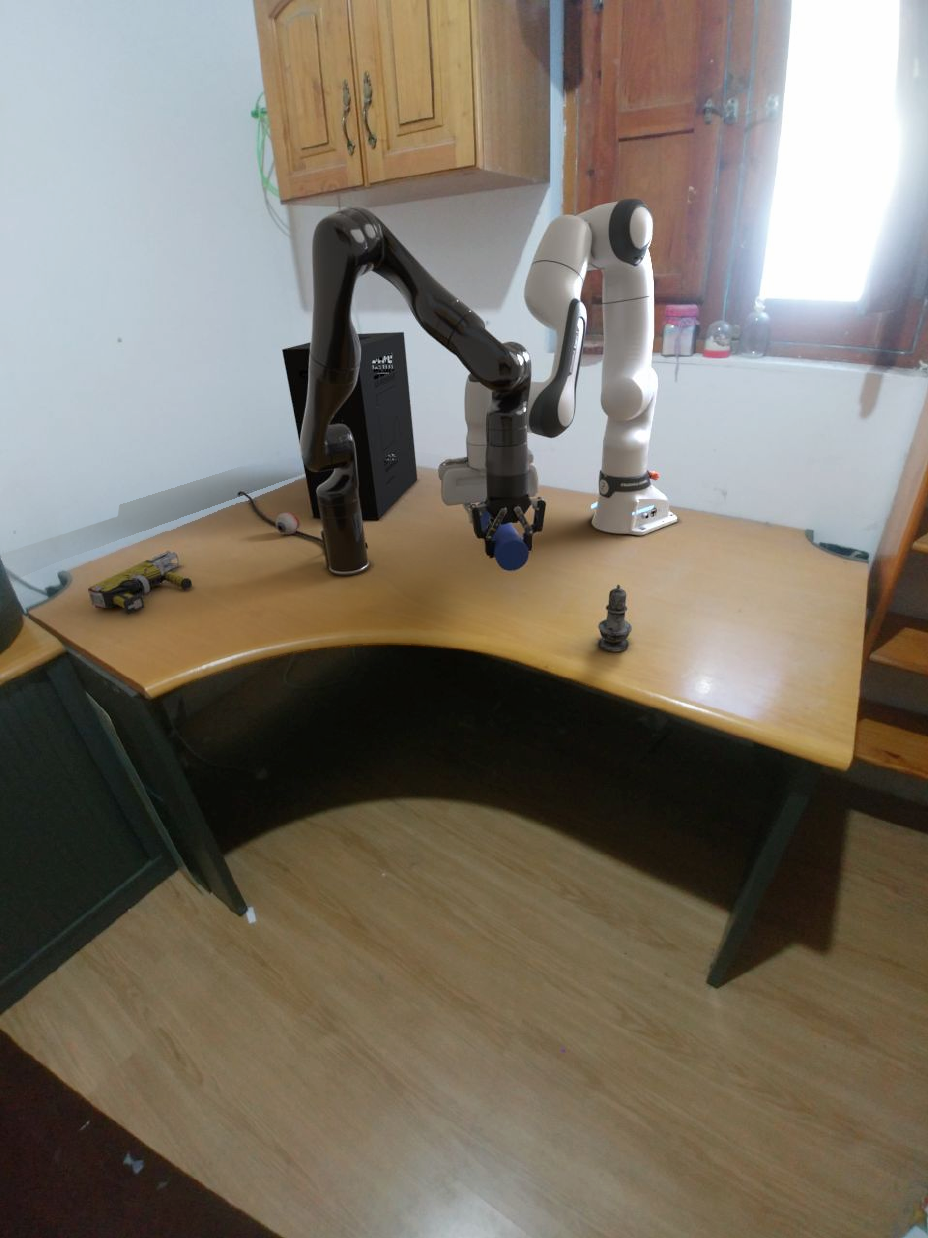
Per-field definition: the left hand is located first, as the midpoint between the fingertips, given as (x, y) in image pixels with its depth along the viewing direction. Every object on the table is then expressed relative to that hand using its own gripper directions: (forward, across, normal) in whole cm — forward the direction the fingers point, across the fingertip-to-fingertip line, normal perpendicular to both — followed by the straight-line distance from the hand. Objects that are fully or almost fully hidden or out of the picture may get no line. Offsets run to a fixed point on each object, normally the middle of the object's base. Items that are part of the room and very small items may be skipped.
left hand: (508, 554), depth 114 cm
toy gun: (+13, -76, +32) cm, 83 cm away
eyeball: (+13, -48, +58) cm, 77 cm away
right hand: (-1, 0, +16) cm, 17 cm away
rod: (+2, 0, +8) cm, 8 cm away
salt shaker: (+13, +16, -15) cm, 26 cm away
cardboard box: (+13, -25, +83) cm, 88 cm away
